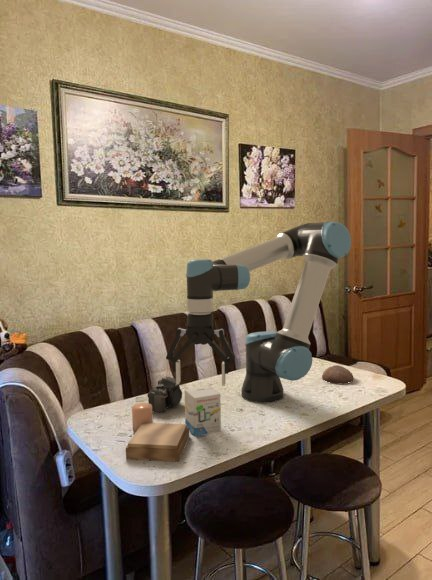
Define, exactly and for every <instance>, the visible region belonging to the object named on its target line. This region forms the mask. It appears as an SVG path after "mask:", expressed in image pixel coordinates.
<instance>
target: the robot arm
mask: <svg viewBox="0 0 432 580" xmlns="http://www.w3.org/2000/svg"><path fill="white" fill-rule="evenodd" d="M351 246H352V236H351V234H350V232H349V229H348V228H347V226H346V225H344V224H343V223H342V222H338V221H324V222H308V223H307V222H306V223H303V224H300V225H298V226H295V227H292V228H290V229H288V230H286V231H282V232H280V233H278V234H277V236H276V237H275V238H271V239H269V240H266V241H264V242H262V243H259V244H257V245H253V246H251V247H248V248H245V249H242V250H240V251H238V252H235V253H233V254H232V253H231V254H229V255H227V256H223V257H221V258H218V259H216V260H212V259H210V258H208V259H206V258H201V259H200V258H199V259H197V258H196V259H189V260H188V261H187V262H186V271H185V272H186V274H185V275H186V276H185V277H186V294H187V295H186V310H187V312H188V313H187V315H186V317H187V318H186V320H187V321H186V322H187V323H186V326H187V327H186V329H185V328H182V327H178V328H177V330H176V333H175V338H174V340H173V342H172V344H171V346H170V348H169V349H168V352H167V355H166V357H165V359H166V360H167V361H168V360H169V361H171V362H172V365H171V366H172V372H173V373H175V379H176V384H179V383H180V384H181V379H182V378H181V360H180V359H179V358H180V356H182V355H183V353H185V351H186V350H187V349H188V348H189V346H190V345H191V344H194V345H197V346H198V345H201V346H202V345H203V346H204V345H205V346H206V345H207V344H208V346H210V348H212V350H213V351H214V352H215V353H216V354H217V356H218V357H219V358H220V360H222V362H221V386H222V387H224V386H225V385H226V375H229V372H230V363H231V362H234V361H236V356H235V353H234V352H233V350H232V347H231V346H230V343H229V341H228V340H227V337H226V336H225V335H226V334H225V329H224V328H220V329H215V328H214V314H213V313H212V312H213V311H214V292H218V291H219V292H222V291H239V290H245V289H246V288H247V287H249V284H250V282H251V273H250V272H252V271H255V270H257V269H259V268H262V267H264V266H266V265H269V264H272V263H274V262H277V261H280V260H281V259H285V260H290V259H291V258H292V259H293V258H295V257H302V258H303V260H304V261H305V262H304V266H303V268H302V272H301V275H300V277H299V280H298V282H297V286H296V289H295V293H294V295H293V298H292V300H291V304H290V306H289V308H288V312H287V316H286V319H285V321H284V323H283V326H282V329H281V330H278V331H272V330H271V331H256V332H251V333H249V334H247V335H246V337H245V343H244V345H245V377H244V381H243V383H242V387H241V389H240V390H241V397H242V398H243V399H245V400H246V401H248V402H253V403H263V404H264V403H265V404H266V403H275V402H278V401H281V400H282V399H283V398H284V395H285V393H284V392H285V391H284V386H283V383H282V381H281V379H284V380H286V381H292V382H294V381H298V380H301V379H302V378H304V377H305V376H306V375H307V374H308V373H309V372H310V370H311V368H312V365H313V357H312V356H313V355H312V352H311V351H310V346H311V342H310V340H309V335H310V332H311V330H312V326H313V324H314V319H315V316H316V314H317V311H318V308H319V304H320V302H321V298H322V295H323V293H324V291H325V288H326V287H325V286H326V284H327V281H328V277H329V276H330V272H331V270H332V269H333V268H336V267H337V265H338V263H339V259H341V258H344V257H345V256H347V255H348V253H349V252H350V250H351ZM185 334H186V336H187V337H188V340H187V341H185V343H184V344H183V346H182V347H181V348H180V349H179V350H178V352H176V354H175V355H174V353H175V351H176V349H177V346H178V345H179V342H180V341H181V338H182V337H183V336H185ZM214 335H216V337H218V338H219V340H220V342H221V344H222V346H223V349H224V351H225V352H224V351H223V349H222V348H221V347H220V346H219V344H217V342H216V341H215V340H214V338H213V337H214ZM180 384H179V385H180Z"/></svg>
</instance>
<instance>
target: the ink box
mask: <svg viewBox="0 0 432 580" xmlns="http://www.w3.org/2000/svg"><path fill="white" fill-rule="evenodd" d="M221 407H222V406H221V393H220V392H219V391H218V390H216V389H215V388H214V387H212V386H211V385H204V386H200V387H193V388H192V387H191V388H186V389H184V415H185V416H184V420H185V421H184V422H185V423H184V424H187V427H189V433H191V434H192V435H193V437H199V436H203V435H208V434H213V433H219V432H221V431H222V422H221V421H222V420H221V419H222V416H221Z"/></svg>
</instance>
